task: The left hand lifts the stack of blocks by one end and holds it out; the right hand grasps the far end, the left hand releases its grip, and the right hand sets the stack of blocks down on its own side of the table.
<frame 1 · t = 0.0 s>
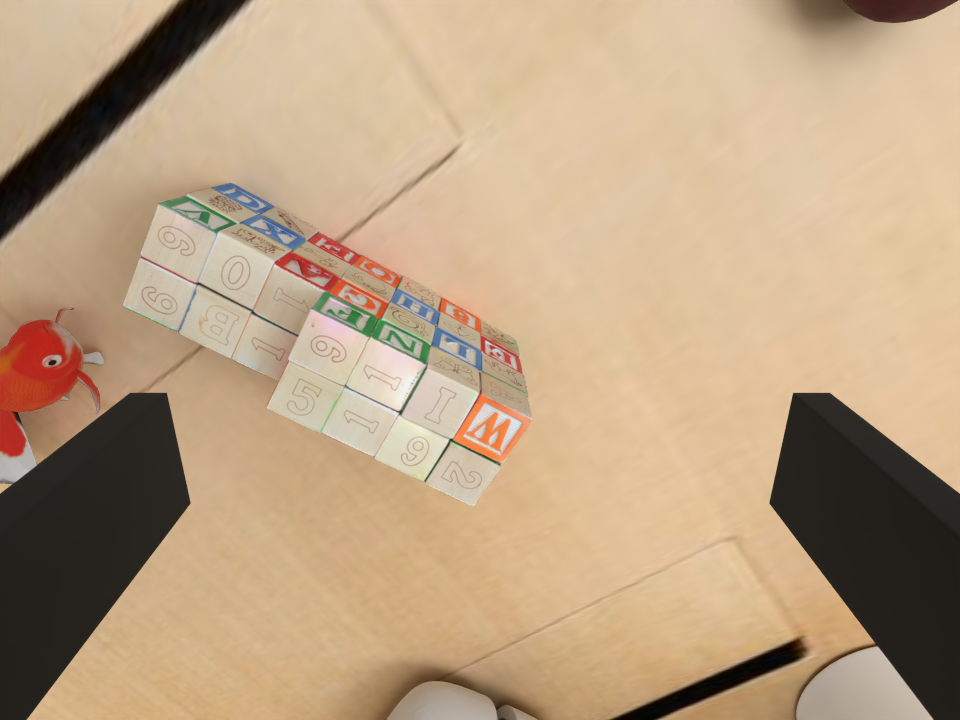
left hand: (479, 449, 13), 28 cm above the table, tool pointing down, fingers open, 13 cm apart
fish: (57, 380, 43), on the table
stack of blocks: (362, 303, 41), on the table
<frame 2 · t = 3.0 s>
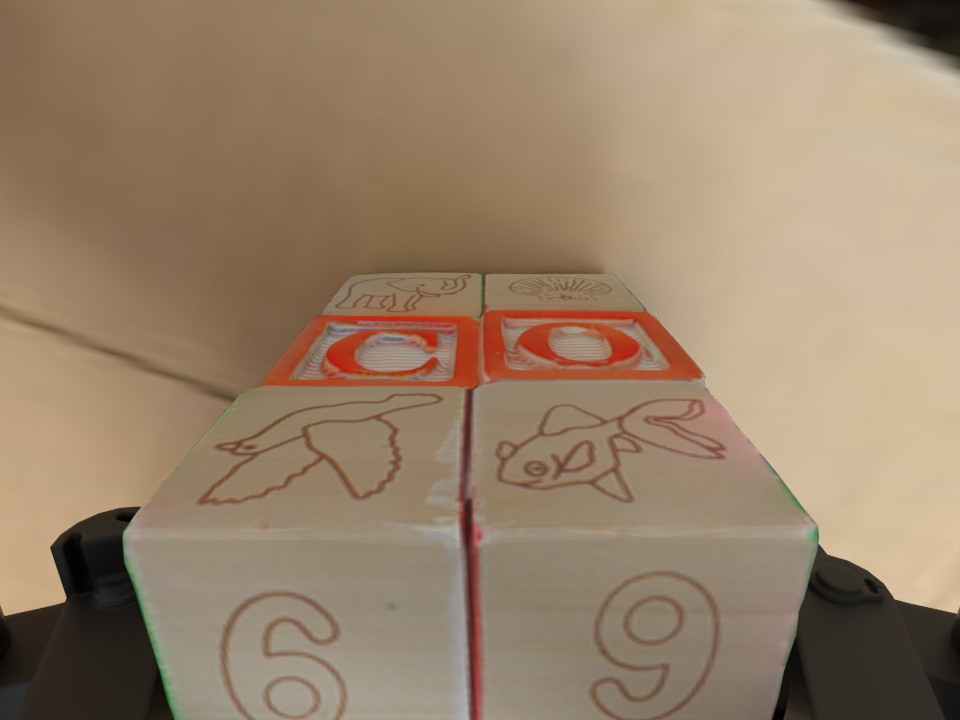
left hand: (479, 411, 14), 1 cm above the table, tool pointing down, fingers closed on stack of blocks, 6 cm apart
stack of blocks: (479, 623, 18), on the table, touching left hand
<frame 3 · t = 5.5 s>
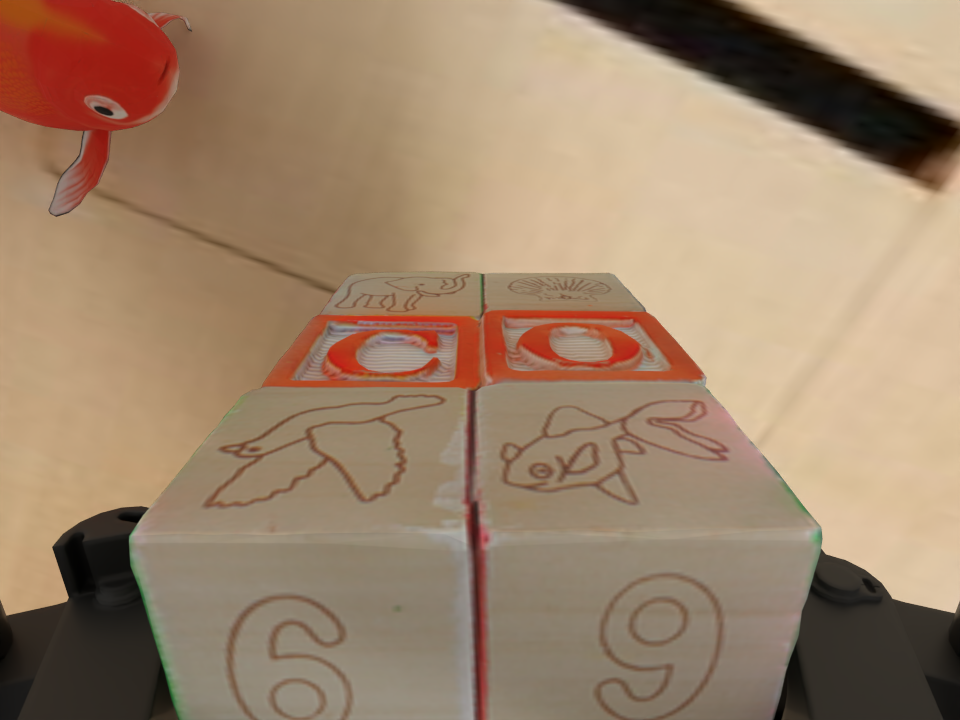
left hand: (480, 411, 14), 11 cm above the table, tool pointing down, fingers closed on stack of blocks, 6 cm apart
fish: (26, 44, 21), on the table
stack of blocks: (477, 621, 18), point 11 cm above the table, touching left hand
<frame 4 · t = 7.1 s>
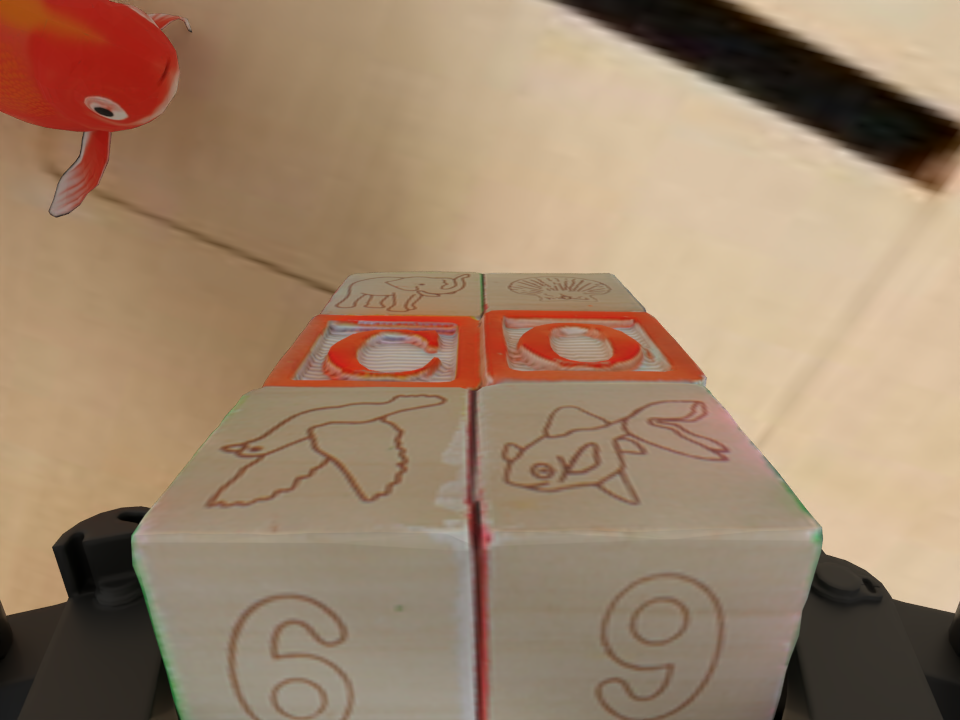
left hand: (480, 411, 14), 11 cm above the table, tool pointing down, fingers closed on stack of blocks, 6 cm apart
fish: (26, 44, 21), on the table
stack of blocks: (476, 621, 18), point 11 cm above the table, touching left hand, right hand
when the left hand's fingers open (11 cm above the table, at t = 8.2 s): stack of blocks stays where it is, held by the right hand.
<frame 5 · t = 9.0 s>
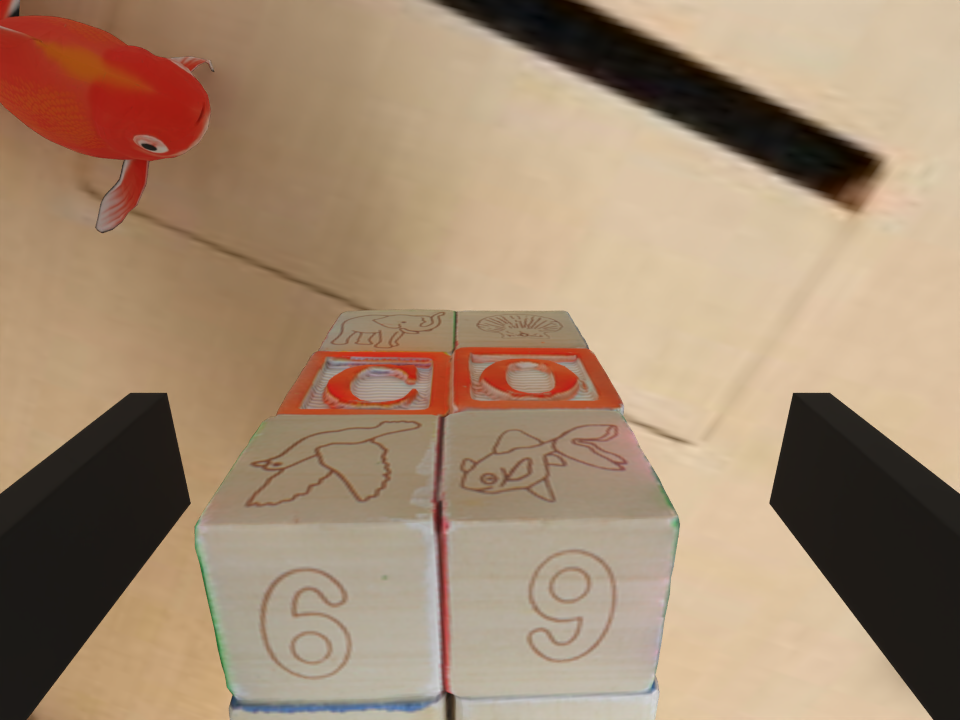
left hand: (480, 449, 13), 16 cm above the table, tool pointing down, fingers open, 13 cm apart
fish: (68, 80, 24), on the table
stack of blocks: (454, 615, 20), point 12 cm above the table, touching right hand
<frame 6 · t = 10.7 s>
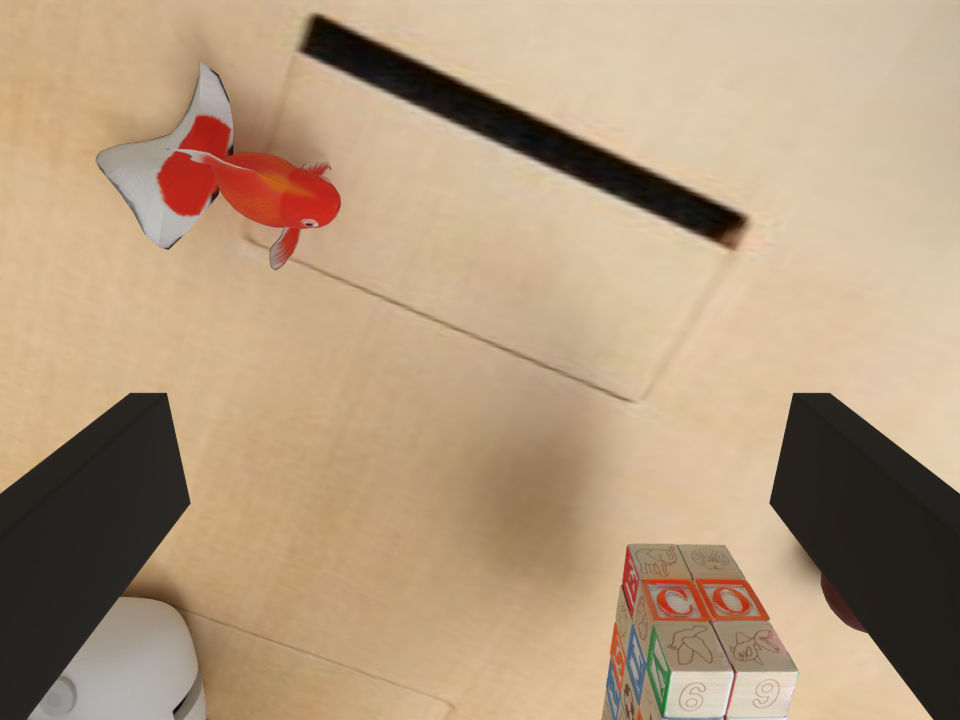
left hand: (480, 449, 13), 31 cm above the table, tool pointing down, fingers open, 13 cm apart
fish: (242, 174, 40), on the table
projector: (95, 646, 56), on the table
dark maroon ball: (847, 554, 52), on the table
stack of blocks: (651, 670, 40), point 13 cm above the table, touching right hand
when the right hand's fingers open (9 cm above the table, at t = 14.4 s): stack of blocks drops 1 cm, on the table.
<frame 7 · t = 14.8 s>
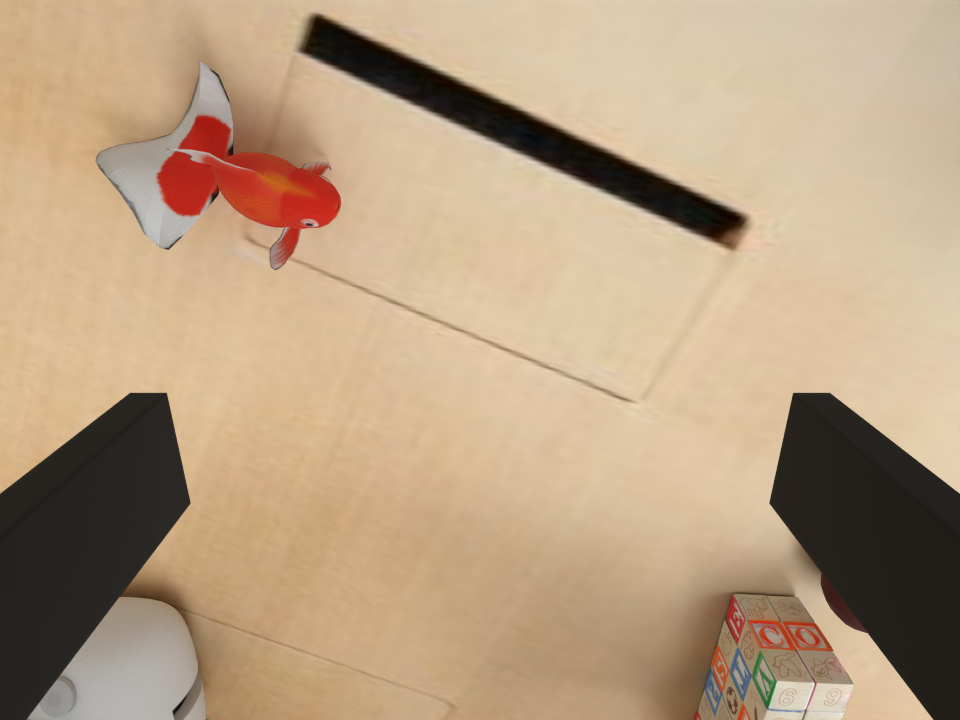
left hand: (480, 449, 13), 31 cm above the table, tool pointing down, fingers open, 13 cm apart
fish: (242, 174, 40), on the table
projector: (95, 646, 56), on the table
dark maroon ball: (847, 554, 52), on the table
stack of blocks: (737, 678, 58), on the table
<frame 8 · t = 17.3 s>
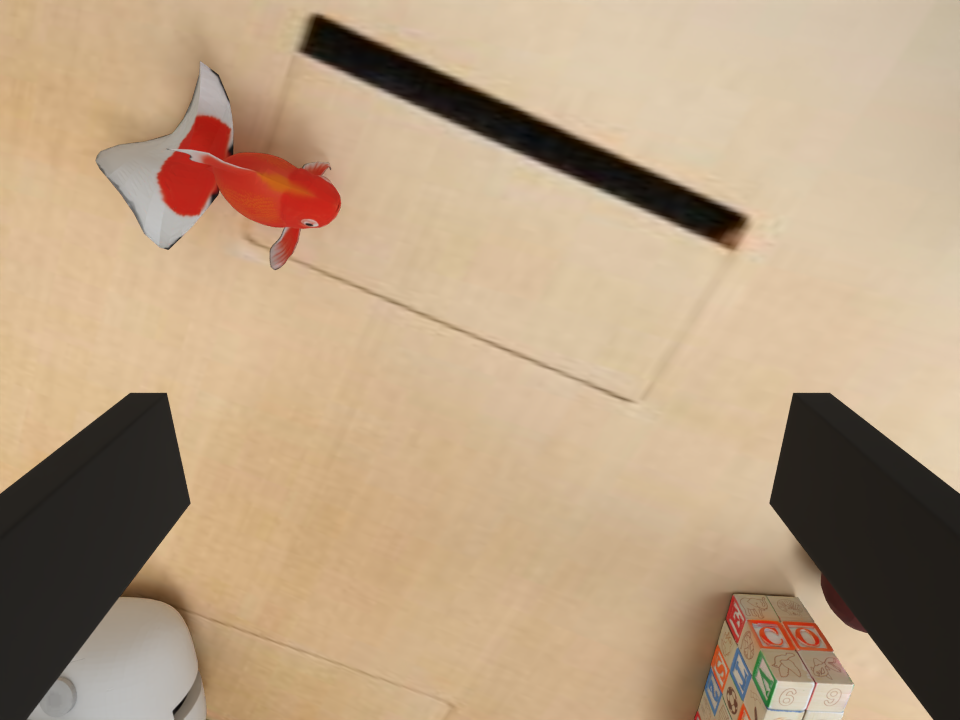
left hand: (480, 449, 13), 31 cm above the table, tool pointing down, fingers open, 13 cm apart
fish: (242, 174, 40), on the table
projector: (95, 646, 56), on the table
dark maroon ball: (847, 554, 52), on the table
stack of blocks: (737, 678, 58), on the table
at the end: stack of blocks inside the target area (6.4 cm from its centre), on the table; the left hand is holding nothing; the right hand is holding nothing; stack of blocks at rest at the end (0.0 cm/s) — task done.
